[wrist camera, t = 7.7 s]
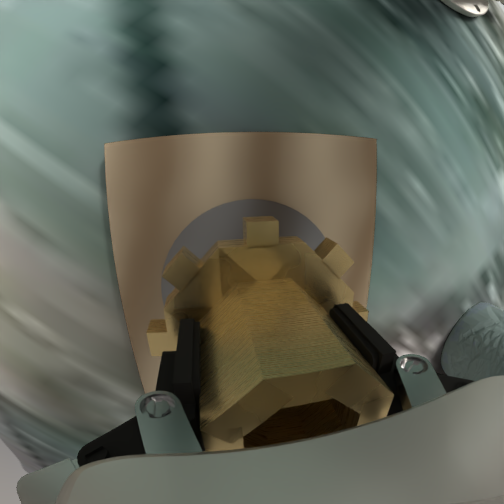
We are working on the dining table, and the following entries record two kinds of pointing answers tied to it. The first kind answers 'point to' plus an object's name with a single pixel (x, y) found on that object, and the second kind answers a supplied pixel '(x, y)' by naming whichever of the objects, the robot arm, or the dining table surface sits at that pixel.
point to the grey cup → (476, 344)
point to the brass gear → (270, 339)
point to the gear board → (231, 207)
